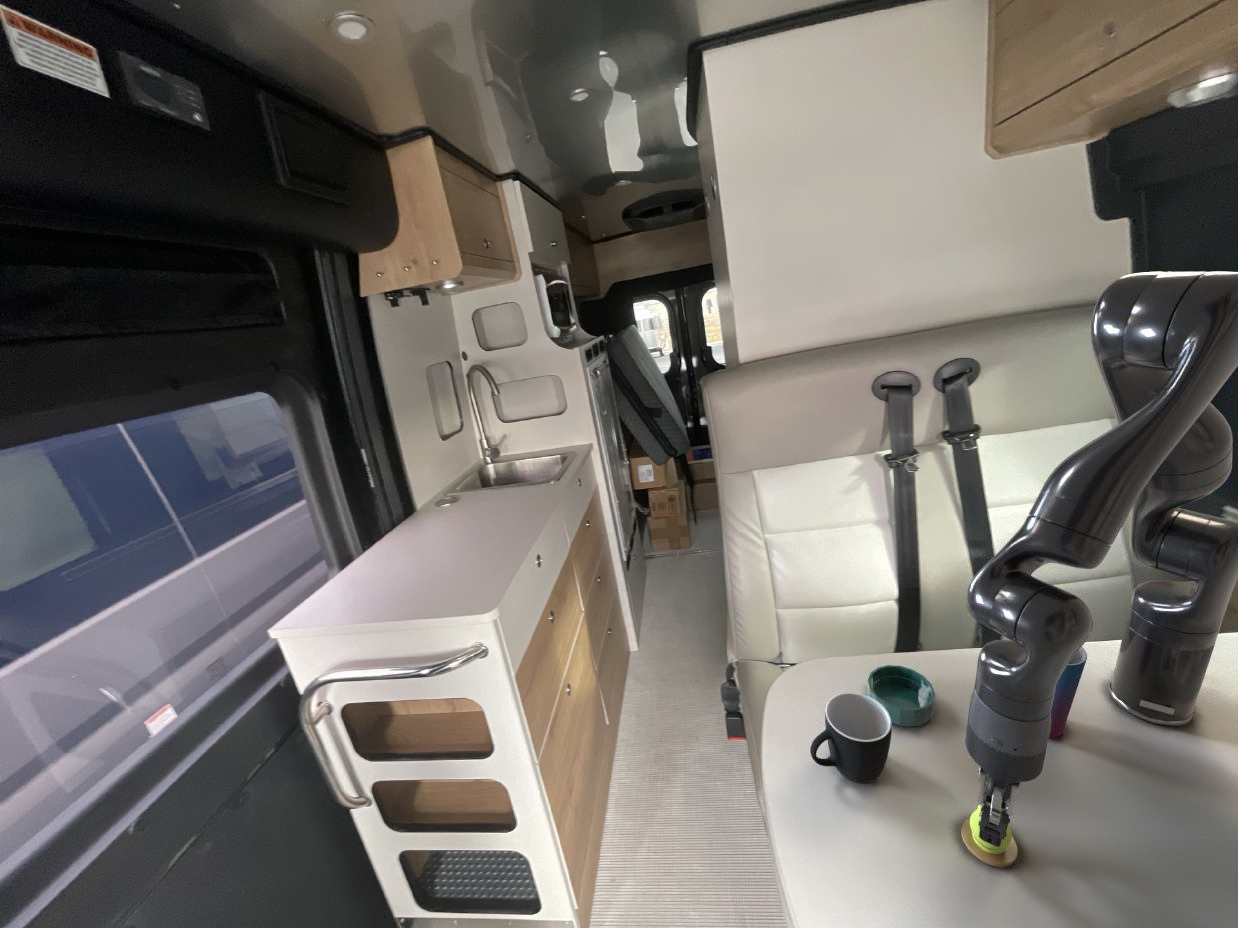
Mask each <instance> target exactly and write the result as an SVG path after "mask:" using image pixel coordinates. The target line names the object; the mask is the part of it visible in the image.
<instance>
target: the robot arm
mask: <svg viewBox="0 0 1238 928" xmlns="http://www.w3.org/2000/svg"><path fill="white" fill-rule="evenodd" d="M1092 312H1093V313H1092V317H1091V323H1090V341H1091V346H1092V352H1093V355H1094V360H1095V362H1096V365H1097V367H1098V370H1099V373H1100V375H1101V378H1102V381H1103V383H1104V386H1105V389H1106V391H1107V394H1108V396H1109V399H1110V402H1111V406H1112V410H1113V414H1114V419H1115V424H1116V425H1115V426H1114V427H1112V428H1111V429H1109V430H1107V431H1106V432H1104V433H1102V434H1101V435H1100V436H1098V437H1096V438H1094V439H1092V440H1090V441H1089V442H1088V443H1086V444H1085V445H1083V446H1082V447H1080V448H1078V449H1076V450H1075V451H1074V452H1072V453H1071V454H1070V455H1068V456H1067V457H1066V458H1064V459H1063V460H1062V461H1061V462H1060V463H1059V464H1058V465H1057V466H1056V467H1055V468H1054V469H1053V471H1052V472H1051V473H1050V474H1049V475H1048V477H1047V479H1046V480H1045V482H1044V483H1043V485H1042V488H1041V489H1040V492H1039V493H1038V495H1037V497H1036V499H1035V501H1034V503H1033V505H1032V506H1031V508H1030V510H1029V512H1028V515H1027V516H1026V519H1025V521H1024V522H1023V524H1022V525H1021V526H1020V528H1019V529H1018V531H1016V533H1015V534H1014V535H1013V536H1012V537H1011V538H1010V539H1009V540H1008V541H1007V542H1006V543H1005V544H1004V545H1003V547H1001V549H999V551H998V552H997V553H996V554H995V555H994V556H993V557H992V558H991V559H990V560H989V561H988V562H986V564H984V565H983V567H981V568H980V570H978V572H976V574H975V575H974V576H973V578H972V579H971V581H970V582H969V584H968V587H967V589H966V595H965V603H966V608H967V611H968V612H969V615H970V616H971V617H972V618H973V619H974V620H975V621H977V622H978V623H980V624H981V625H983V626H985V627H987V628H989V629H991V630H992V631H994V632H995V633H998V634H999V635H1001V636H1003V637H1005V638H1006V639H996V640H991V641H989V642H988V643H986V644H984V645H983V647H982V648H981V649H980V651H979V654H978V657H977V664H976V673H975V681H974V687H973V690H972V693H971V696H970V700H969V707H968V716H967V723H966V725H967V726H966V733H965V740H964V742H965V746H966V751H967V752H968V754H969V756H970V758H972V760H973V761H974V762H975V763H976V764H977V765H978V766H979V772H978V780H977V781H978V783H979V790H978V796H977V797H978V798H977V802H978V805H979V804H980V805H981V806H982V807H981V812H980V815H979V816H980V817H981V819H980V821H979V824H978V825H979V826H980V828H979V829H980V832H979V837H980V839H982V840H983V841H985V842H987V843H989V844H992V845H994V846H997V847H999V846H1000V845H1001V840H1002V839H1003V840H1004V838H1005V837H1006V834H1007V833H1006V830H1007V827H1008V824H1010V823H1011V818H1010V817H1013V814H1014V808H1015V801H1016V798H1018V797H1019V795H1020V786H1021V783H1025V782H1026V783H1027V782H1031V781H1033V780H1035V779H1037V778H1038V777H1039V776H1040V775H1041V774H1042V772H1043V769H1044V764H1045V759H1046V754H1047V749H1048V743H1049V739H1050V737H1049V734H1050V729H1051V709H1052V704H1053V698H1054V693H1055V688H1056V684H1057V682H1058V680H1059V678H1060V676H1061V674H1062V672H1063V671H1064V669H1065V667H1066V666H1067V664H1068V663H1069V661H1070V660H1071V659H1072V657H1073V656H1074V655H1075V654H1076V653H1077V652H1078V650H1079V649H1080V648H1081V647H1083V645H1085V644H1086V642H1087V640H1088V639H1089V637H1090V636H1091V634H1092V630H1093V625H1094V624H1093V623H1094V622H1093V616H1092V613H1091V610H1090V609H1089V607H1088V605H1087V604H1086V603H1085V601H1084V600H1082V599H1081V598H1080V597H1078V596H1076V595H1075V594H1073V593H1071V592H1069V591H1067V590H1065V589H1062V588H1060V587H1059V586H1055V585H1053V584H1051V583H1048V582H1046V581H1044V580H1042V579H1039V578H1038V577H1035V576H1033V575H1032V574H1033V573H1034V572H1036V571H1037V570H1038V569H1040V568H1041V567H1043V566H1045V565H1047V564H1058V565H1063V566H1066V567H1070V568H1074V569H1075V568H1076V569H1079V570H1080V569H1081V570H1082V569H1083V570H1093V569H1095V568H1097V567H1098V566H1099V565H1101V564H1102V562H1103V561H1104V559H1105V558H1106V556H1107V554H1108V553H1109V551H1110V549H1111V547H1112V545H1114V542H1115V540H1116V538H1117V536H1118V534H1119V533H1120V531H1121V530H1122V528H1123V526H1124V524H1125V522H1126V520H1127V518H1128V517H1129V548H1130V551H1131V555H1132V556H1133V558H1134V559H1135V561H1137V562H1139V563H1141V564H1142V565H1143V566H1145V567H1148V568H1151V569H1154V570H1157V571H1161V572H1164V573H1167V574H1170V575H1173V576H1176V577H1179V578H1183V579H1186V580H1187V581H1185V580H1184V581H1183V580H1182V581H1181V580H1169V579H1167V580H1166V579H1165V580H1164V579H1158V580H1147V581H1145V582H1142V583H1140V584H1139V585H1137V586H1136V587H1135V588H1134V590H1133V592H1132V596H1131V600H1130V604H1129V608H1128V612H1127V615H1126V616H1127V617H1126V621H1125V625H1124V629H1123V633H1122V638H1121V641H1120V644H1119V645H1120V646H1119V650H1118V653H1117V658H1116V663H1115V666H1114V670H1113V674H1112V678H1111V680H1110V682H1109V686H1108V692H1109V695H1110V697H1111V698H1112V700H1113V701H1114V702H1115V703H1116V704H1117V705H1118V706H1119V707H1120V708H1121V709H1123V710H1124V711H1126V712H1128V713H1129V714H1130V715H1132V716H1134V717H1136V718H1138V719H1141V720H1143V721H1146V722H1149V723H1152V724H1155V725H1160V726H1166V727H1180V726H1185V725H1187V724H1188V723H1190V722H1191V721H1192V719H1193V716H1194V712H1195V706H1196V703H1197V700H1198V697H1199V695H1200V692H1201V688H1202V685H1203V683H1204V680H1205V677H1206V673H1207V670H1208V667H1209V664H1210V661H1211V658H1212V655H1213V652H1214V649H1215V646H1216V642H1217V639H1218V636H1219V634H1220V633H1219V632H1220V630H1221V627H1222V624H1223V620H1224V617H1225V615H1226V611H1227V608H1228V606H1229V602H1230V600H1231V597H1232V593H1233V591H1234V588H1235V586H1236V584H1237V581H1238V521H1236V520H1231V519H1228V518H1223V517H1220V516H1219V517H1218V516H1214V515H1211V514H1205V513H1202V512H1197V511H1193V510H1189V509H1185V508H1181V507H1183V506H1186V505H1189V504H1191V503H1194V502H1196V501H1198V500H1201V499H1202V498H1205V497H1206V496H1208V495H1210V494H1212V493H1213V492H1215V491H1216V490H1217V489H1219V488H1220V487H1221V486H1223V484H1224V483H1225V482H1226V481H1227V480H1228V478H1229V476H1230V475H1231V472H1232V468H1233V432H1232V428H1231V426H1230V424H1229V422H1228V421H1227V419H1226V418H1225V415H1223V414H1222V413H1221V411H1219V410H1218V409H1217V408H1216V406H1214V404H1212V403H1211V401H1213V399H1214V398H1215V396H1216V395H1218V393H1219V391H1220V390H1221V388H1223V386H1224V385H1225V383H1226V382H1227V381H1228V379H1229V378H1230V377H1231V376H1232V374H1233V373H1234V372H1235V371H1236V369H1237V367H1238V271H1149V272H1146V271H1145V272H1135V273H1130V274H1127V275H1122V276H1121V277H1118V278H1117V279H1115V280H1114V281H1112V282H1110V284H1108V285H1107V286H1106V287H1105V288H1104V290H1103V291H1102V292H1101V294H1100V295H1099V297H1098V299H1097V302H1096V303H1095V306H1094V308H1093V311H1092Z"/></svg>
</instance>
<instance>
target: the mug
mask: <svg viewBox="0 0 1238 928" xmlns="http://www.w3.org/2000/svg"><path fill="white" fill-rule="evenodd" d="M824 723H825V730H823V731H822V732H821V733H819V734H818V735H817V736H815V738H814V739H813V740H812V742H811V745H810V748H809V750H810V751H809V752H810V756H811V758H812V760H813V761H814V762H815V763H816V764H817V765H819V766H822V767H834V768H836V769H837V771H838V772H839V773H840V774H841V775H842V777H844V778H845V779H847V780H849V781H851V782H853V783H858V784H869V783H872V782H874V781H875V780H877V779H878V778H879V777H880V776H881V774H883V771H884V769H885V767H886V763H887V760H888V755H889V753H890V747H891V740H892V732H893V723H892V721H891V717H890V715H889V713H888V711H887V710H886V709H885V707H884V706H883V705H882V704H880V703H879V702H878V701H876V700H875V699H873V698H871V697H869V696H867V694H863V693H858V692H842V693H839V694H836V695H834V696H832V697H831V698H830V699H829V700H828V701H827V703H826V706H825V710H824ZM826 741H827V745H828V750H829V756H828V757H826V758H820V757H819V756H818V755H817V751H818V750H819V748H820V746H821V745H822V744H823V743H824V742H826Z"/></svg>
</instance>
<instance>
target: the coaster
mask: <svg viewBox="0 0 1238 928" xmlns="http://www.w3.org/2000/svg"><path fill="white" fill-rule="evenodd" d="M970 818H971V817H969V818H967V819H966V820H964V821H963V823H962V825H961V829H960V830H961V831H960V832H961V838H962V841H963V843H964V845H965V847H966V848H967V850H968V851H969V852H970V853H971V854H972V855H973V856H974V857H976V858H977V859H979V860H980V861H981V862H983V863H985V864H986V865H987V864H988V865H989V866H993V867H997V868H1006V867H1009V866H1012V865H1013V864H1014V863H1015V862H1016V861H1017V859H1018V854H1019V849H1018V845H1017V842H1016V840H1015V838H1014V837H1013V836H1012V838H1011V842H1010V844H1009V845H1008V846H1007V847H1006V848H1005V851H1004V852H1003V853H1001V854H991V853H988V852H986V851H984V850H983V849H981V848H980V847H979V846H978V845H977V844H976V843H975V841H974V839H973V836H972V830H971V827H970Z"/></svg>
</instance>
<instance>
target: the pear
mask: <svg viewBox="0 0 1238 928" xmlns="http://www.w3.org/2000/svg"><path fill="white" fill-rule="evenodd" d="M981 807H982V806H981V805H980V804H979V803H978V806H977V808H976V809H975V810H974V811H973V812H972V813H971V815H970V817H969V818H970V827H971V830H972V836H973V839H974V841H975V843H976V844H977V845H978V846H979V847H980V848H981V849H983V850H984V851H986V852H988V853H991V854H1001V853H1003V852H1004V851H1005V848H1006V847H1007V846H1008V845H1009V844H1010V842H1011V838H1012V837H1013V833H1012V829H1011V826H1010V825H1009V823H1008V827H1007V830H1006V833H1007V834H1006V837H1005V838H1004V840H1003V839H1002V840H1001V845H1000V846H999V847H997V846H994V845H992V844H989V843H987V842H985V841H983V840H982V839H980V837H979V832H980V829H979V828H980V826H979V825H978V824H979V821H980V819H981V817H980V816H979V815H980V812H981Z"/></svg>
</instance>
